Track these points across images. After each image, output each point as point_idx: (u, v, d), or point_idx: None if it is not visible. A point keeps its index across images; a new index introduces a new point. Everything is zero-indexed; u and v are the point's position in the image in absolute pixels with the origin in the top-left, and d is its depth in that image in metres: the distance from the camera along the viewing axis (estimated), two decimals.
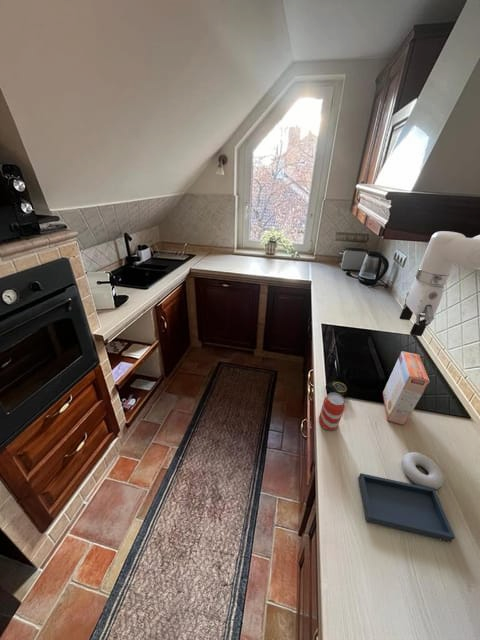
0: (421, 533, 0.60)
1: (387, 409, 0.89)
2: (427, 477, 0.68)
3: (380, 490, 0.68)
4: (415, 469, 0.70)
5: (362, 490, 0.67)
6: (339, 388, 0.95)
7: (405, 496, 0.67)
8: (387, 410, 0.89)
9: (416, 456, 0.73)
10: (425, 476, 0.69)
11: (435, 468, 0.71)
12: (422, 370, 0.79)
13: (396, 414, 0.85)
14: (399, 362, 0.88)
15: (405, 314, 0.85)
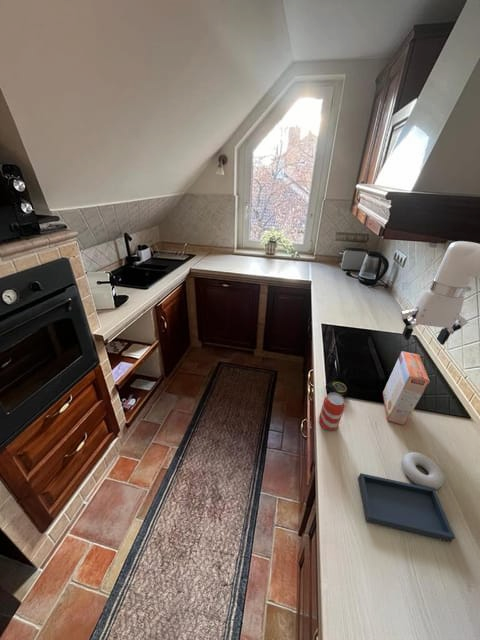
0: (421, 533, 0.60)
1: (387, 409, 0.89)
2: (427, 477, 0.68)
3: (380, 490, 0.68)
4: (415, 469, 0.70)
5: (362, 490, 0.67)
6: (339, 388, 0.95)
7: (405, 496, 0.67)
8: (387, 410, 0.89)
9: (416, 456, 0.73)
10: (425, 476, 0.69)
11: (435, 468, 0.71)
12: (422, 370, 0.79)
13: (396, 414, 0.85)
14: (399, 362, 0.88)
15: None
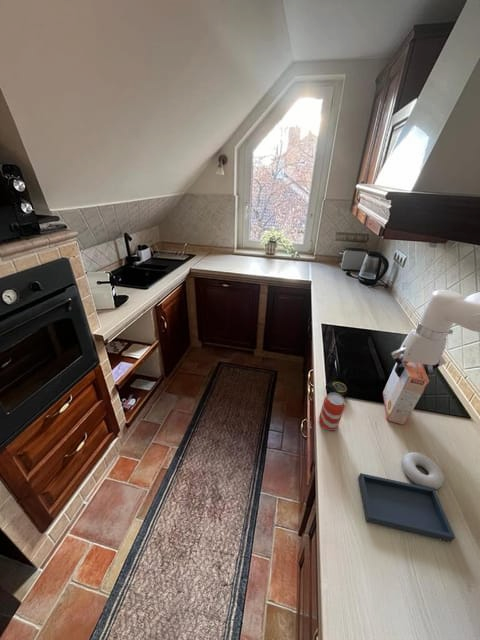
0: (421, 533, 0.60)
1: (387, 409, 0.89)
2: (427, 477, 0.68)
3: (380, 490, 0.68)
4: (415, 469, 0.70)
5: (362, 490, 0.67)
6: (339, 388, 0.95)
7: (405, 496, 0.67)
8: (387, 410, 0.89)
9: (416, 456, 0.73)
10: (425, 476, 0.69)
11: (435, 468, 0.71)
12: (421, 369, 0.80)
13: (396, 414, 0.85)
14: None
15: None
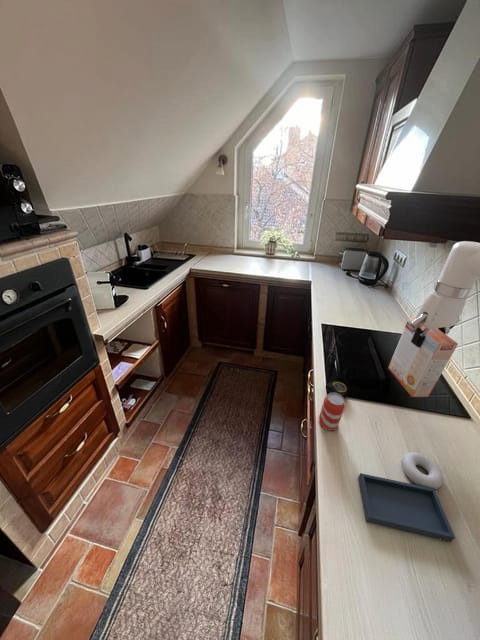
0: (421, 533, 0.60)
1: (407, 385, 0.81)
2: (427, 477, 0.68)
3: (380, 490, 0.68)
4: (415, 469, 0.70)
5: (362, 490, 0.67)
6: (339, 388, 0.95)
7: (405, 496, 0.67)
8: (408, 386, 0.81)
9: (416, 456, 0.73)
10: (425, 476, 0.69)
11: (435, 468, 0.71)
12: (442, 334, 0.73)
13: (422, 388, 0.77)
14: (409, 331, 0.80)
15: None
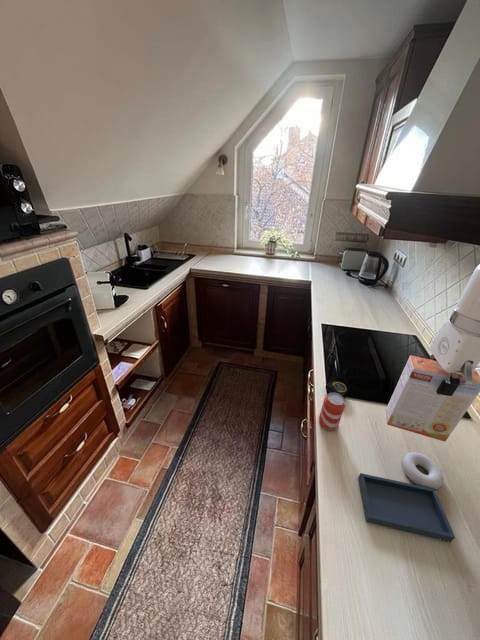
0: (421, 533, 0.60)
1: (435, 433, 0.66)
2: (427, 477, 0.68)
3: (380, 490, 0.68)
4: (415, 469, 0.70)
5: (362, 490, 0.67)
6: (339, 388, 0.95)
7: (405, 496, 0.67)
8: (436, 433, 0.66)
9: (416, 456, 0.73)
10: (425, 476, 0.69)
11: (435, 468, 0.71)
12: None
13: None
14: (422, 381, 0.61)
15: None
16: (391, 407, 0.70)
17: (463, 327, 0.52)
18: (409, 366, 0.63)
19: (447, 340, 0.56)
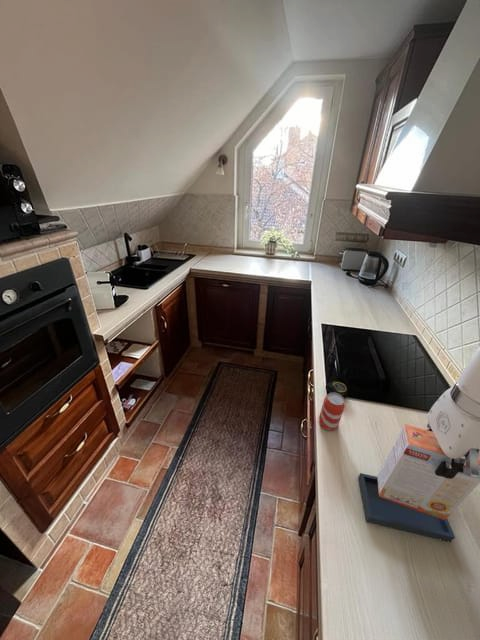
0: (421, 533, 0.60)
1: (433, 511, 0.57)
2: None
3: None
4: None
5: (362, 490, 0.67)
6: (339, 388, 0.95)
7: None
8: (435, 512, 0.57)
9: None
10: None
11: None
12: None
13: None
14: (418, 459, 0.52)
15: None
16: (383, 477, 0.61)
17: (467, 410, 0.43)
18: (403, 438, 0.55)
19: (448, 417, 0.48)
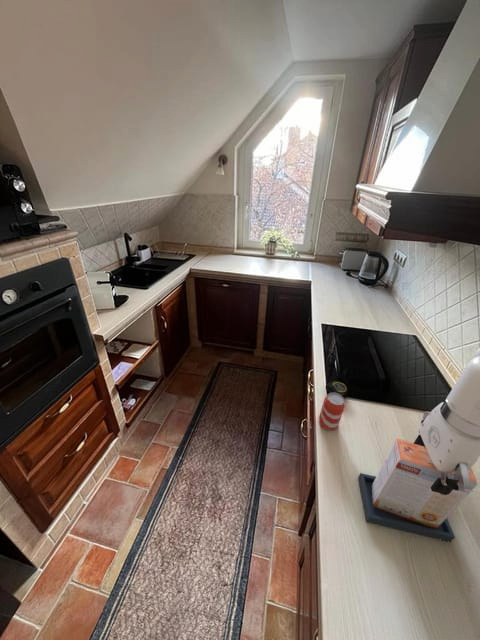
0: (421, 533, 0.60)
1: (424, 521, 0.60)
2: None
3: None
4: None
5: (362, 490, 0.67)
6: (339, 388, 0.95)
7: None
8: (426, 522, 0.60)
9: None
10: None
11: None
12: None
13: None
14: (409, 473, 0.55)
15: None
16: (377, 489, 0.64)
17: (456, 426, 0.46)
18: (395, 453, 0.57)
19: (438, 432, 0.50)
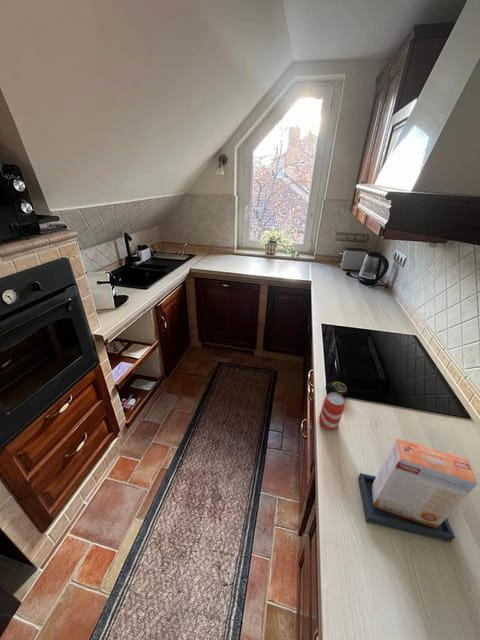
0: (421, 533, 0.60)
1: (424, 521, 0.60)
2: None
3: None
4: None
5: (362, 490, 0.67)
6: (339, 388, 0.95)
7: None
8: (426, 522, 0.60)
9: None
10: None
11: None
12: (444, 455, 0.55)
13: None
14: (409, 473, 0.55)
15: None
16: (377, 488, 0.64)
17: None
18: (395, 452, 0.57)
19: None
